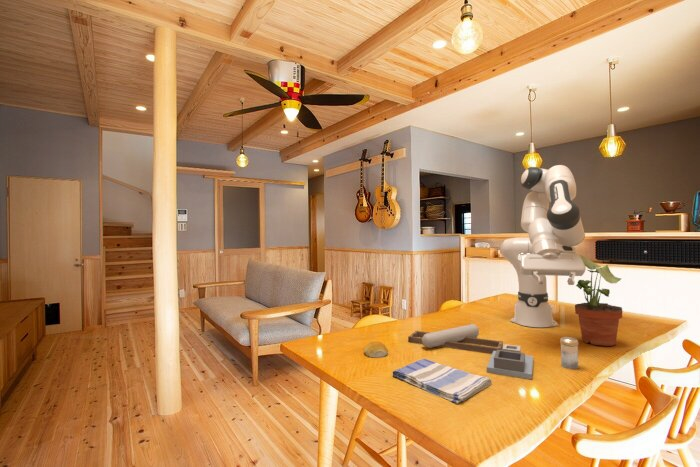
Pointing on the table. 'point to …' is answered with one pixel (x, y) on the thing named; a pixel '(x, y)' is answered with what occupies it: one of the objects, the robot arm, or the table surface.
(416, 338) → the tube tray
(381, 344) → the bread roll
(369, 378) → the table surface
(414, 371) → the dish towel
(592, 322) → the potted plant
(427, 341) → the tube
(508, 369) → the plate
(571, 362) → the clear cylindrical piece
